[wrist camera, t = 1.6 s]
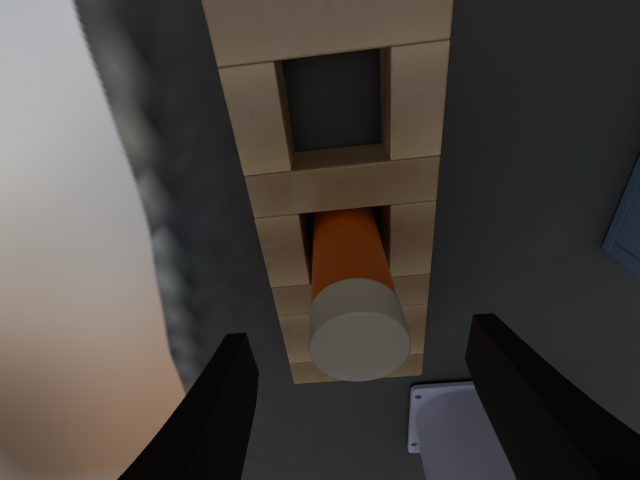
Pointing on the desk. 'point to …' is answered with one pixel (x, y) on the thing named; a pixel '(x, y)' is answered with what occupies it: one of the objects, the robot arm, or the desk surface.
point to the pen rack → (342, 162)
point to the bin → (627, 226)
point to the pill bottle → (354, 300)
